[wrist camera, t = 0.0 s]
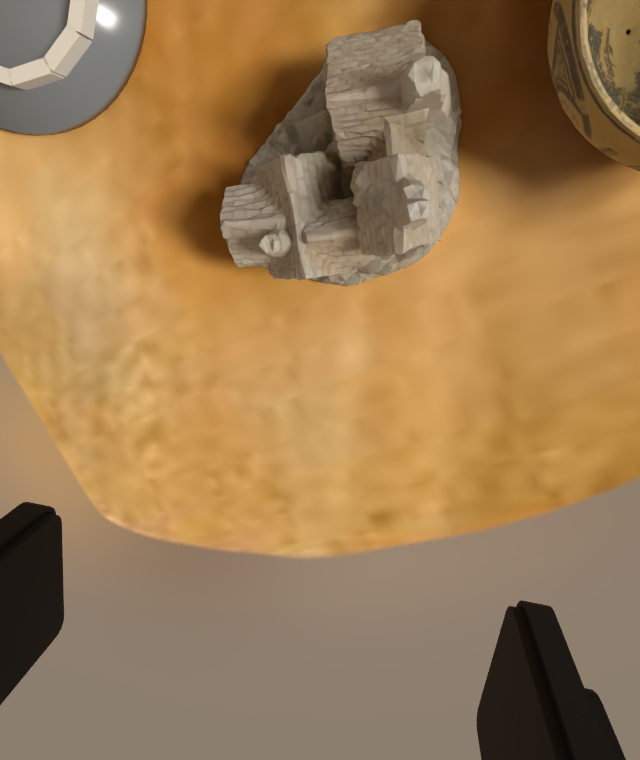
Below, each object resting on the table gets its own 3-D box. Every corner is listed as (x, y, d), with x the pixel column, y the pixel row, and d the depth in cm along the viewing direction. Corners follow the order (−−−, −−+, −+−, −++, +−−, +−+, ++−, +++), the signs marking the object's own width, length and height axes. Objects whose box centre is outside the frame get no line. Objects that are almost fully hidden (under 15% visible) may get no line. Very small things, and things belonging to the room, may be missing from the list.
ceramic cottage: (480, 37, 34) (509, -74, 20) (445, 293, 39) (448, 345, 26) (247, 34, 37) (131, -65, 23) (244, 274, 42) (149, 311, 28)
